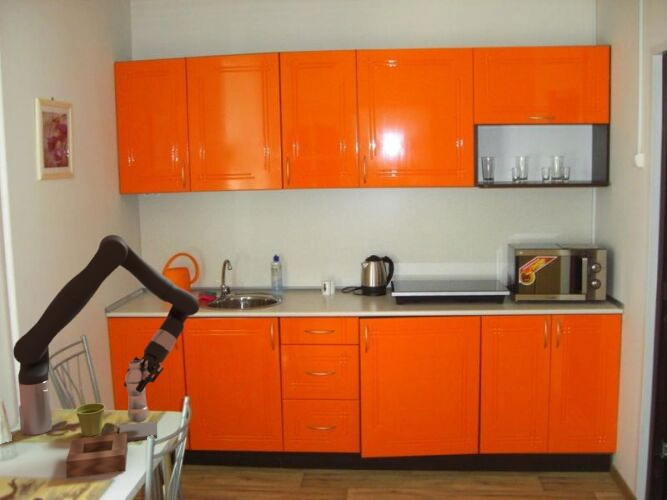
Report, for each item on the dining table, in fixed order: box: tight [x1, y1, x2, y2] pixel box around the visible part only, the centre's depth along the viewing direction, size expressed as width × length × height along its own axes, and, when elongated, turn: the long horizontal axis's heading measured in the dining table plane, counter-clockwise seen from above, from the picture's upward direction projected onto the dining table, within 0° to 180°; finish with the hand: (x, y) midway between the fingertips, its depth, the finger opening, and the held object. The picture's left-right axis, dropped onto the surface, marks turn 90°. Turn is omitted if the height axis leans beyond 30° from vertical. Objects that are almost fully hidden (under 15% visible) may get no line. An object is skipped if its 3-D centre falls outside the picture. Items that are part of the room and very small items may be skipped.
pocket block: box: [65, 433, 129, 479], centre depth 201 cm, size 16×16×5 cm
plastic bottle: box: [124, 360, 149, 423], centre depth 222 cm, size 6×7×20 cm
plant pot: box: [74, 402, 106, 437], centre depth 223 cm, size 9×9×9 cm
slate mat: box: [118, 420, 158, 442], centre depth 224 cm, size 12×12×1 cm
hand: (132, 389), depth 221 cm, fingers closed on plastic bottle, 6 cm apart
